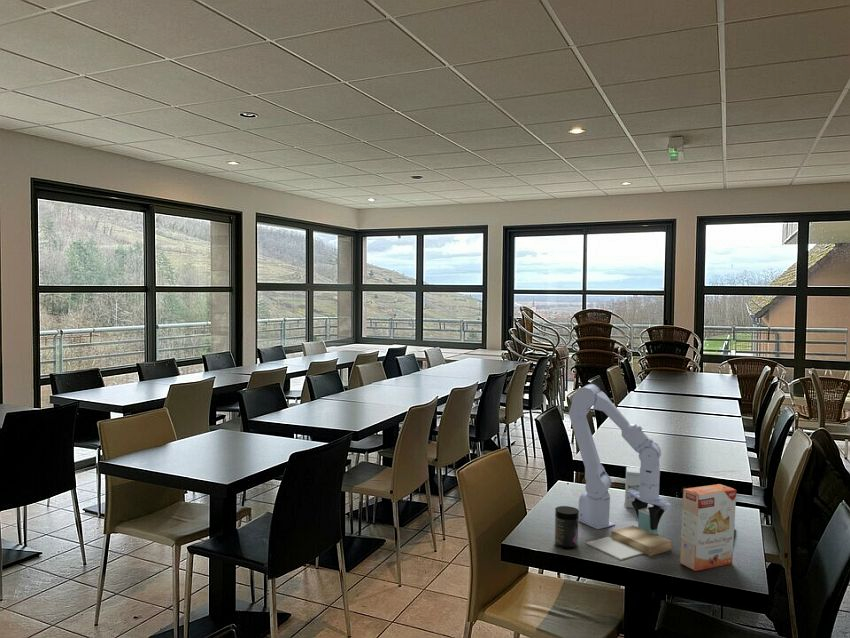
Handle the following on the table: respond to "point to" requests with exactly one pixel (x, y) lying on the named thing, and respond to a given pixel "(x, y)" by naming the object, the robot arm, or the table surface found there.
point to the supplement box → (631, 484)
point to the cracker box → (707, 526)
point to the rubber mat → (614, 548)
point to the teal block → (645, 521)
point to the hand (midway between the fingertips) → (647, 526)
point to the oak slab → (641, 540)
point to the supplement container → (566, 527)
